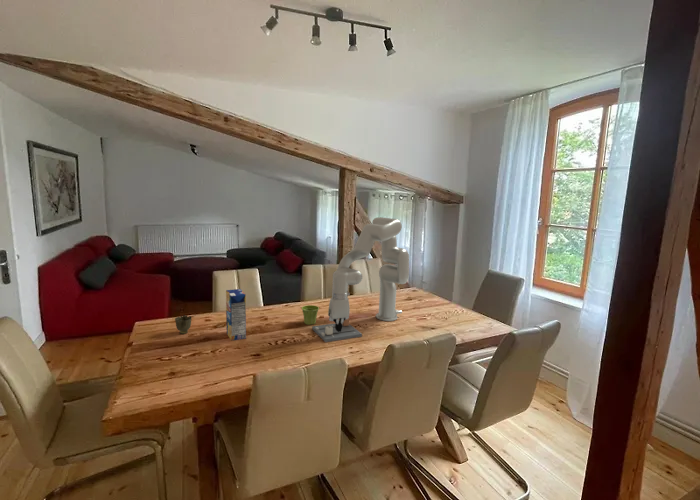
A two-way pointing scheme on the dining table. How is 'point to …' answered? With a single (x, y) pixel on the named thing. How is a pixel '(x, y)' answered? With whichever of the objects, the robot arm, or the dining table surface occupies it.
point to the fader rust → (346, 322)
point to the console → (345, 332)
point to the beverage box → (236, 314)
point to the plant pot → (310, 314)
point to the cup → (183, 323)
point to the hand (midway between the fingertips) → (338, 330)
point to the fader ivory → (328, 330)
